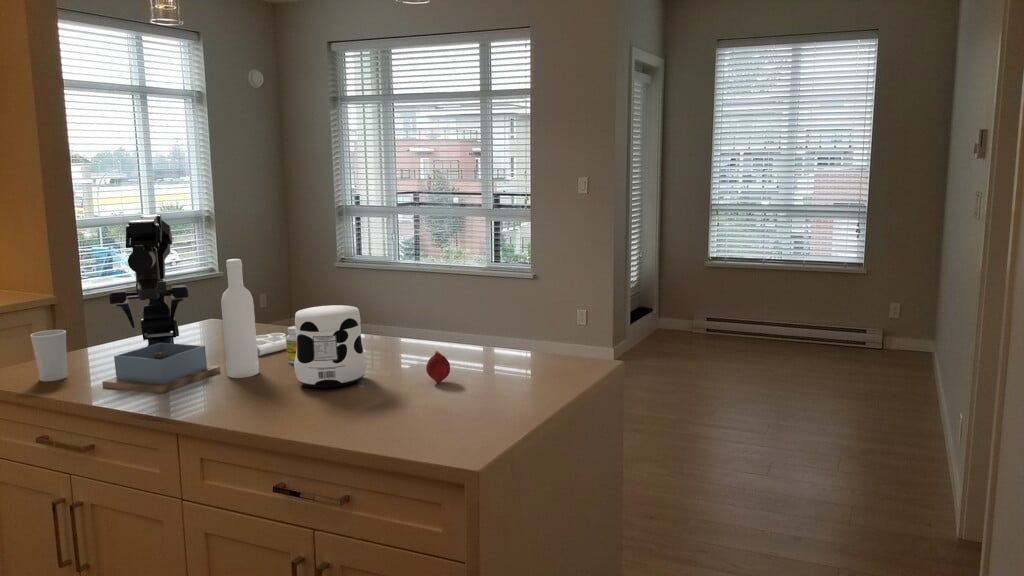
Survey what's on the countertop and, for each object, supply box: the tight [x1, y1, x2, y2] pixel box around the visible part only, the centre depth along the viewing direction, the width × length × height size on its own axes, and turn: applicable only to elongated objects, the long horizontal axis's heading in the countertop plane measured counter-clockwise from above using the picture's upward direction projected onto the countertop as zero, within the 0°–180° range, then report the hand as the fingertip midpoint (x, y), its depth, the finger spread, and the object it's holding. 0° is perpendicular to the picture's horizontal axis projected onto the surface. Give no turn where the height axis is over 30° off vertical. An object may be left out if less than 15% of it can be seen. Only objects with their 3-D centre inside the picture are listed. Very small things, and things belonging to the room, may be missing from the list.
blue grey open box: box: [113, 343, 208, 384], centre depth 201 cm, size 15×17×6 cm
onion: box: [425, 350, 451, 384], centre depth 192 cm, size 6×6×8 cm
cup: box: [30, 329, 69, 382], centre depth 205 cm, size 8×8×12 cm
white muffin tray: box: [256, 332, 287, 357], centre depth 231 cm, size 3×18×15 cm
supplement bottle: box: [286, 325, 297, 365], centre depth 216 cm, size 5×5×10 cm
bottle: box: [220, 258, 260, 379], centre depth 202 cm, size 8×8×30 cm
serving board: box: [101, 364, 221, 394], centre depth 201 cm, size 20×19×2 cm
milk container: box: [293, 304, 367, 388], centre depth 194 cm, size 17×17×18 cm
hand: (152, 326), depth 209 cm, fingers open, 9 cm apart
